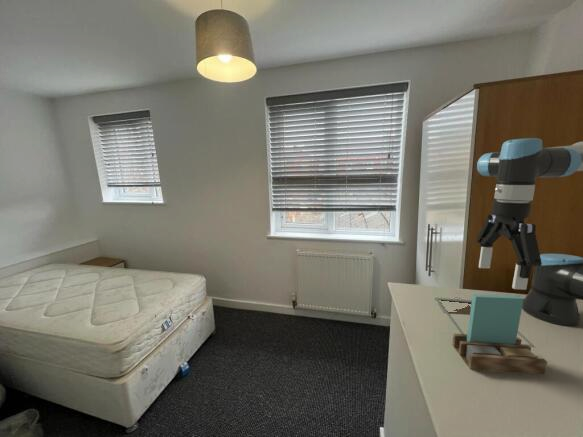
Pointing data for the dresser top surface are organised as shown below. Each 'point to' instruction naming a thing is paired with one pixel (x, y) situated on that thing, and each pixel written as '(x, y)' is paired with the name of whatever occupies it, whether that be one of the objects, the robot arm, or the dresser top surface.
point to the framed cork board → (465, 313)
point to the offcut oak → (516, 352)
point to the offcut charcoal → (481, 350)
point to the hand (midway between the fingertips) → (499, 277)
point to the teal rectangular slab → (494, 318)
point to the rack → (499, 358)
